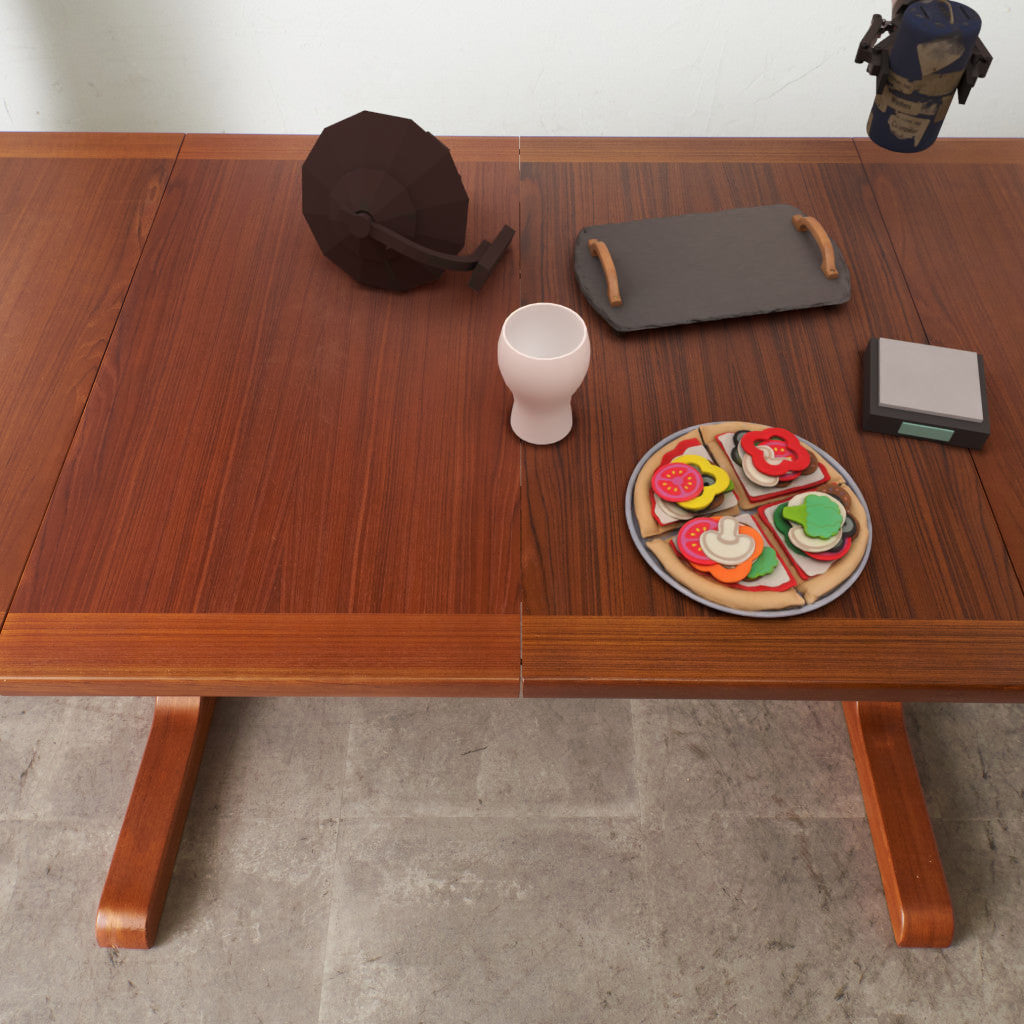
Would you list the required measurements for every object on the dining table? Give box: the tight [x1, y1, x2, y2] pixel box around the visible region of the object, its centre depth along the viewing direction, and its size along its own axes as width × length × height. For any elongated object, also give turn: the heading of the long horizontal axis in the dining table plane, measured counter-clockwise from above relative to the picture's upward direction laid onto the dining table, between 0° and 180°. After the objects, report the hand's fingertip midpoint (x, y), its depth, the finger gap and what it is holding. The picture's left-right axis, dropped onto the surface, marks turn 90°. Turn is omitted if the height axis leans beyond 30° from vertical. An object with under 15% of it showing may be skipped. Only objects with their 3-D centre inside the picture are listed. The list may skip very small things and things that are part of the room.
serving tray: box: [572, 203, 852, 338], centre depth 126 cm, size 39×23×6 cm, turn 101°
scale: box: [862, 337, 991, 451], centre depth 113 cm, size 14×14×4 cm
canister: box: [865, 0, 983, 154], centre depth 117 cm, size 10×10×18 cm
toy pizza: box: [624, 420, 873, 619], centre depth 102 cm, size 28×28×4 cm
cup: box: [497, 302, 591, 445], centre depth 106 cm, size 11×11×15 cm
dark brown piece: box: [301, 109, 517, 294], centre depth 126 cm, size 24×29×30 cm
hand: (923, 89), depth 114 cm, fingers closed on canister, 9 cm apart
